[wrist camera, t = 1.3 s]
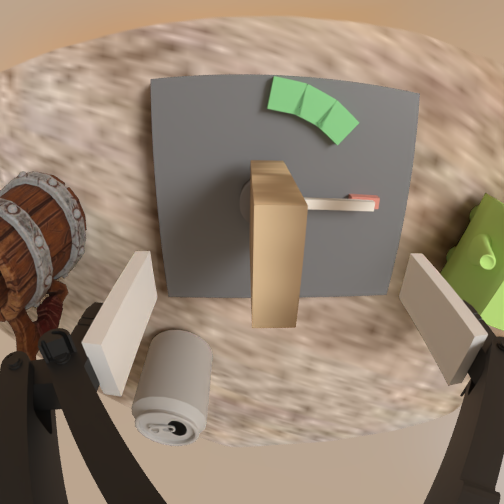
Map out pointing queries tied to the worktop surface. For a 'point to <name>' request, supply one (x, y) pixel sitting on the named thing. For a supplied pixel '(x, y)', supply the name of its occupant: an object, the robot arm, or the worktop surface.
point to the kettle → (480, 262)
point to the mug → (37, 253)
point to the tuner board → (299, 165)
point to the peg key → (280, 239)
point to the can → (174, 389)
